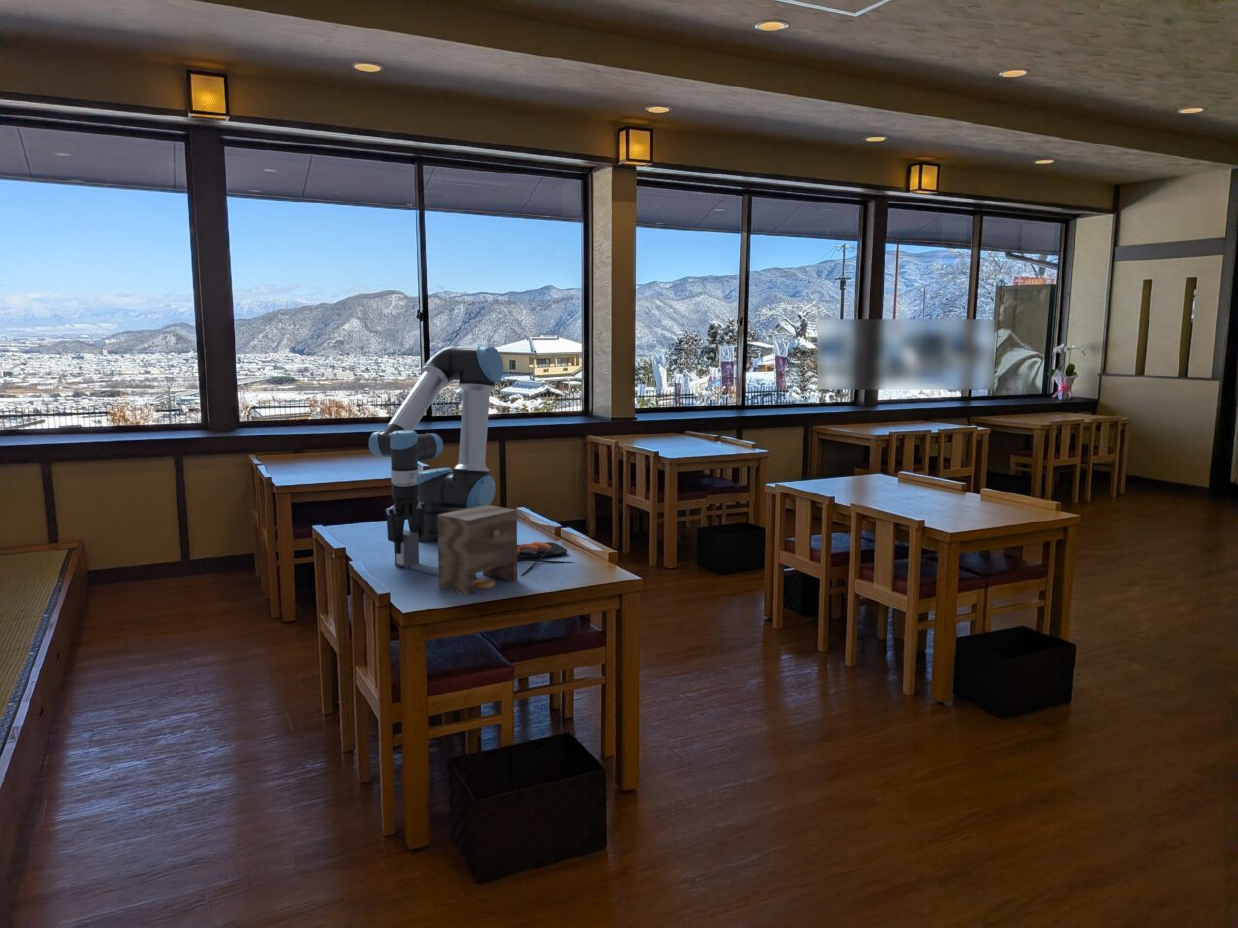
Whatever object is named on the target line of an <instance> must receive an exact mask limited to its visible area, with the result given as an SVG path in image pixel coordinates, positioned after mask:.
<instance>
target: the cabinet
mask: <svg viewBox="0 0 1238 928" xmlns="http://www.w3.org/2000/svg"><path fill="white" fill-rule="evenodd" d="M437 520H438V542H437V559H438V563H437V565H438V567H437V568H439V576H438V588H440V589H443V590H444V589H445V590H448V591H451V590H453V591H452V592H455V591H457V592H456V593H459V592H461V593H460V594H463V593H465V594H464V595H466V594H468V595H467V596H473V595H475V587H474V581H475V577H474V574H475V573H476V574H479V573H482V575H484V576H488V577H494V578H498V579H502V580H506V581H510V582H516V581H518V560H517V545H518V510H517V509H513V508H507V507H502V506H498V505H497V506H496V505H491V504H490V505H481V506H477V507H472V508H467V509H457V510H454V511H453V512H448V513H443V514H438V515H437ZM472 594H473V595H472Z"/></svg>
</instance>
